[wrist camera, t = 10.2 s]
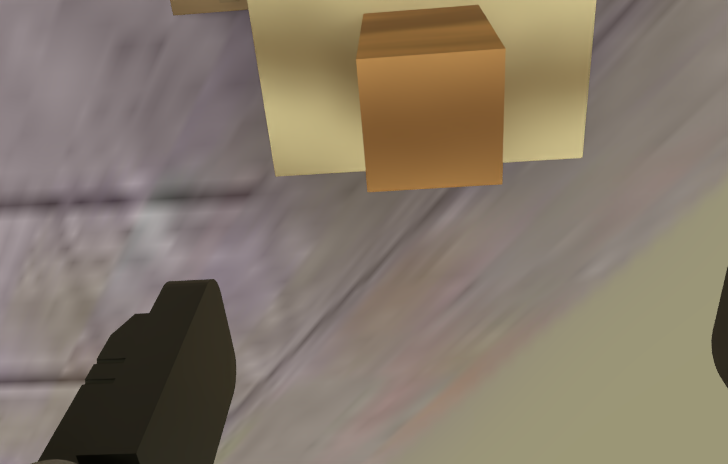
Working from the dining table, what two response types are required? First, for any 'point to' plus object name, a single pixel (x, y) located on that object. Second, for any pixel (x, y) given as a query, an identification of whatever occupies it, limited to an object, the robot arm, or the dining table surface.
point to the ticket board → (206, 6)
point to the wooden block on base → (422, 86)
